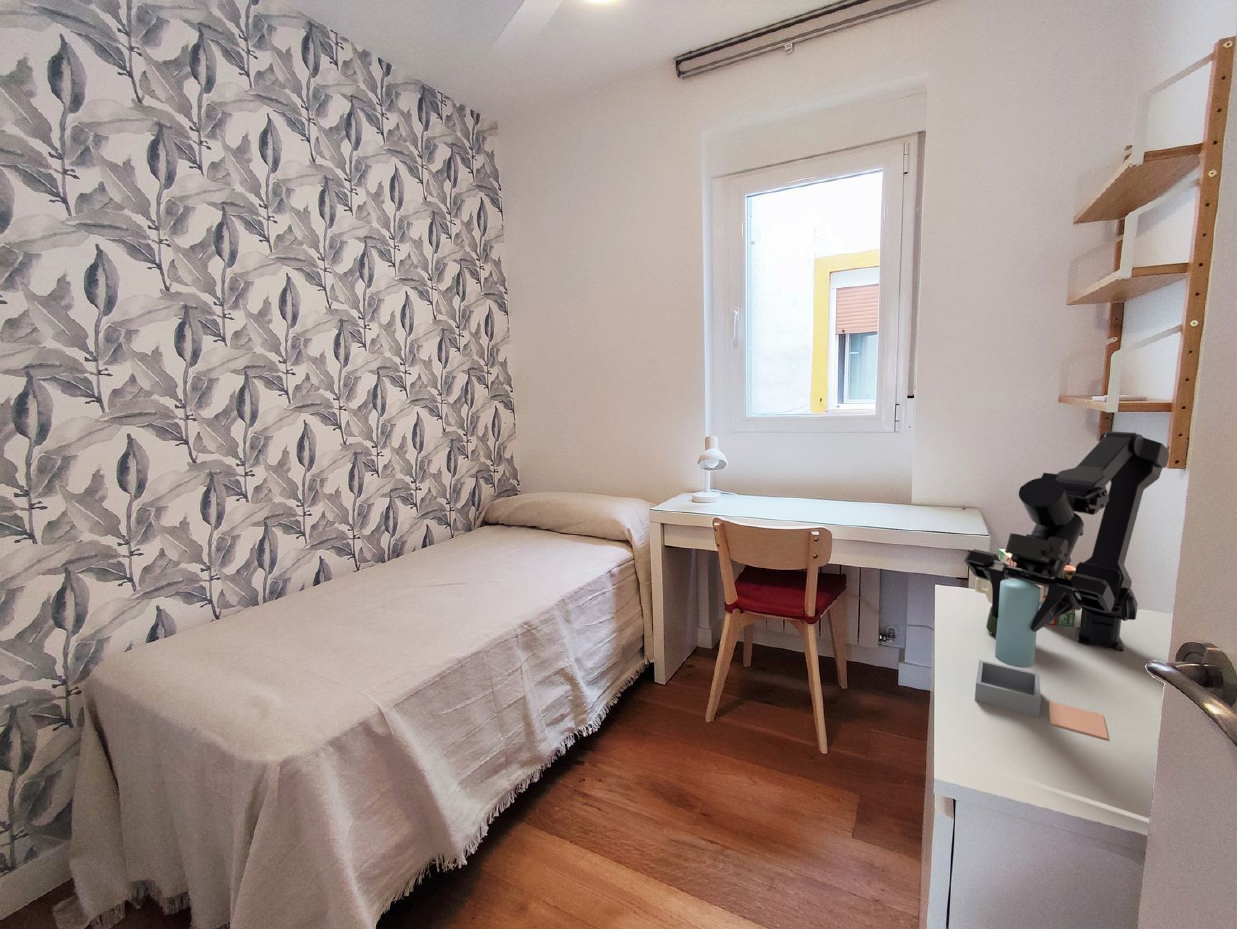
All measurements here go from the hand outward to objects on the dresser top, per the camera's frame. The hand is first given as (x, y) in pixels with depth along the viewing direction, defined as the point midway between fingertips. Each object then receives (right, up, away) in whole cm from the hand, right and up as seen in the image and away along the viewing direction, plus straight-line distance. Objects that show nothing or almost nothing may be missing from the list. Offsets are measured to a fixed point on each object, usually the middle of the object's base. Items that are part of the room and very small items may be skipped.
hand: (1012, 623), depth 84 cm
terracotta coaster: (+7, -14, -3) cm, 16 cm away
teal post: (+1, -6, +2) cm, 7 cm away
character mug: (+15, -9, +23) cm, 29 cm away
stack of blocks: (+31, -7, +36) cm, 48 cm away
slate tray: (+1, -13, +3) cm, 14 cm away
